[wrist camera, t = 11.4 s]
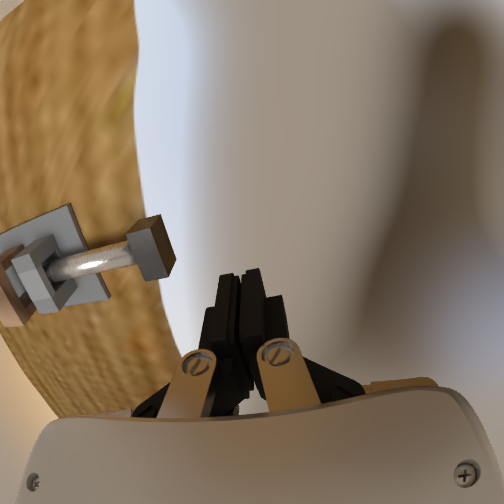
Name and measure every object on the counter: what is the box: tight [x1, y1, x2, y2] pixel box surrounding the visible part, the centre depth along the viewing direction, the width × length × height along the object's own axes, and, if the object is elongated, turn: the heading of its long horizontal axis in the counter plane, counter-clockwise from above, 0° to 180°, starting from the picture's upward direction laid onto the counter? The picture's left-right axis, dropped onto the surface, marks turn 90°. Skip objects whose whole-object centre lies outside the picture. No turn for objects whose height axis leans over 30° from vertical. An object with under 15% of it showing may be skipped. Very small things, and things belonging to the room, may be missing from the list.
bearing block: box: [0, 204, 111, 314], centre depth 23 cm, size 10×20×5 cm, turn 102°
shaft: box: [41, 214, 176, 283], centre depth 22 cm, size 4×15×3 cm, turn 102°
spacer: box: [0, 244, 37, 327], centre depth 22 cm, size 6×4×5 cm, turn 12°
